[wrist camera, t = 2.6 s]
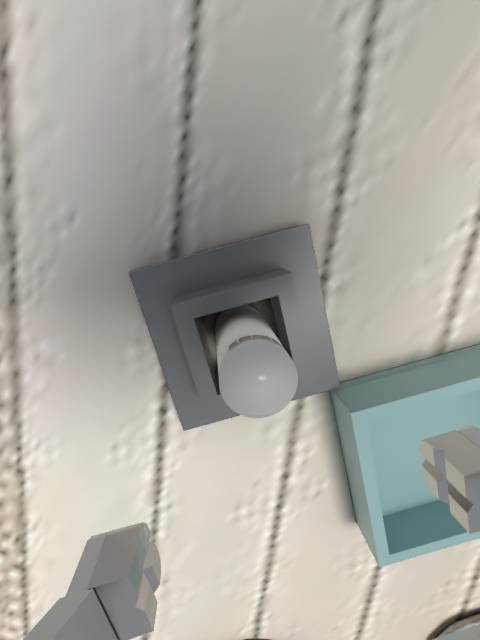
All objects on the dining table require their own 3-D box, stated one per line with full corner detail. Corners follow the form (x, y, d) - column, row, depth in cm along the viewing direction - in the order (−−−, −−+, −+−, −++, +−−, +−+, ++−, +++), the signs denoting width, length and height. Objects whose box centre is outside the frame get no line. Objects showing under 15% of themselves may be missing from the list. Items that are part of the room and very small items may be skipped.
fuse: (258, 297, 26) (289, 334, 16) (270, 344, 27) (305, 405, 17) (209, 311, 26) (209, 356, 16) (222, 357, 27) (230, 426, 17)
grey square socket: (303, 224, 25) (323, 222, 20) (333, 379, 28) (356, 405, 24) (133, 269, 24) (117, 277, 20) (184, 420, 28) (180, 455, 24)
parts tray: (495, 339, 29) (547, 358, 24) (503, 480, 33) (548, 517, 28) (329, 386, 28) (350, 413, 24) (356, 522, 32) (379, 567, 28)
